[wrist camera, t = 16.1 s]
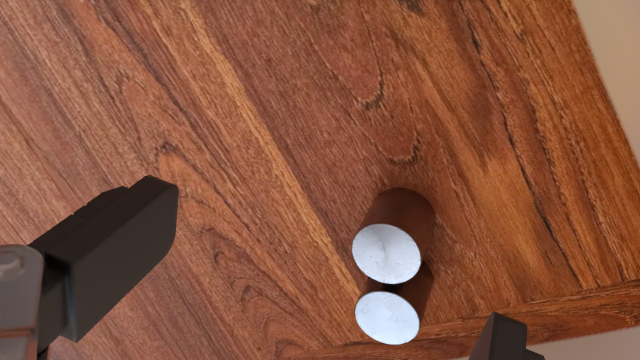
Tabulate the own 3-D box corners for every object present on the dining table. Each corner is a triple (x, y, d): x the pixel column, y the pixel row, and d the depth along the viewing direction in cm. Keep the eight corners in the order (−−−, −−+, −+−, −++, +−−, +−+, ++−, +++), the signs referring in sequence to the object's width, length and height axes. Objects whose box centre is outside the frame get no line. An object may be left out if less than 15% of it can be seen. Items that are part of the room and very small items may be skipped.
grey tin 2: (397, 240, 51) (380, 279, 46) (445, 279, 51) (434, 323, 46) (361, 274, 54) (341, 314, 49) (407, 311, 55) (392, 355, 50)
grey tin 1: (397, 175, 48) (379, 210, 43) (448, 217, 49) (436, 257, 44) (359, 215, 52) (338, 252, 47) (407, 255, 52) (391, 295, 47)
